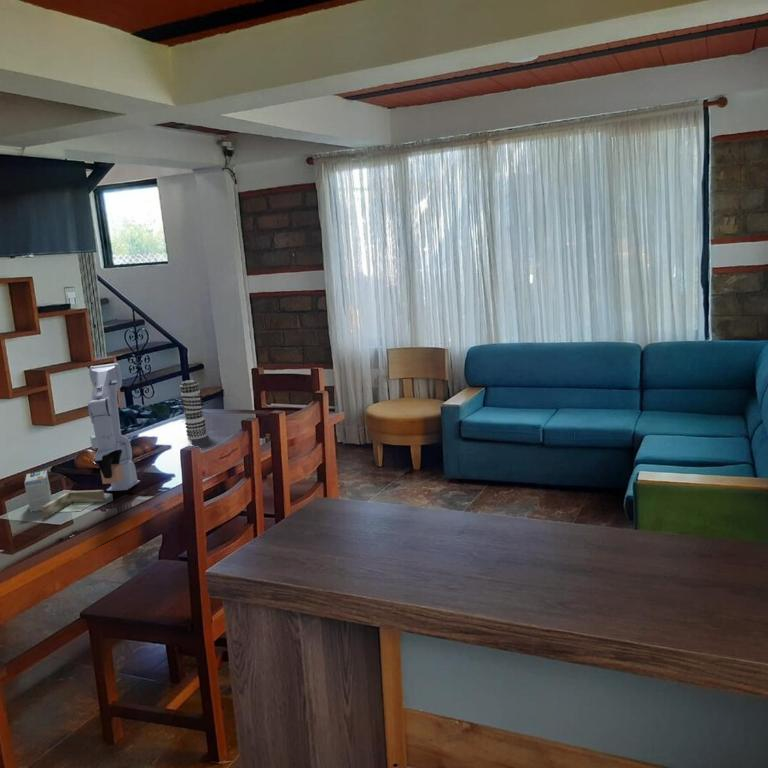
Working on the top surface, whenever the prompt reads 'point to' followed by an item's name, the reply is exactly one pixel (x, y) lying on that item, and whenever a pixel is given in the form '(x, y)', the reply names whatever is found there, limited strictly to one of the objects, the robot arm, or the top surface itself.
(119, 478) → the cube
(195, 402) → the decorative candle
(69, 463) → the top surface
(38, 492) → the light bulb box
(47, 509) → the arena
